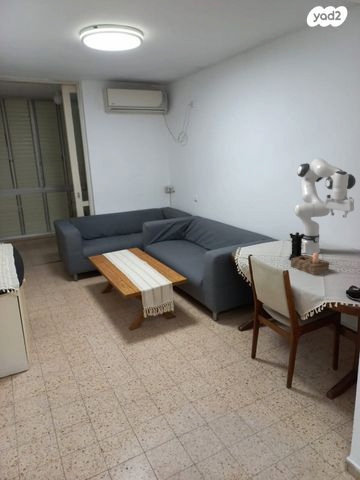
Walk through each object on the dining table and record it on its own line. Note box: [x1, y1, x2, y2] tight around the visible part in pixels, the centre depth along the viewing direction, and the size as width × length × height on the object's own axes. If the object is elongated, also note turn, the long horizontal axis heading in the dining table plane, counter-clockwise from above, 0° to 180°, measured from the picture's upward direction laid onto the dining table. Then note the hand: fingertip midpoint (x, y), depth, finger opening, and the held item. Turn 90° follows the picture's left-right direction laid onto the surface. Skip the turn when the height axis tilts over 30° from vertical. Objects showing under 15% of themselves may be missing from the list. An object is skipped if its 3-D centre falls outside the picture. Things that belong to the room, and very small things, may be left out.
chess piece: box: [287, 231, 304, 261], centre depth 242 cm, size 8×8×20 cm
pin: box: [312, 253, 320, 264], centre depth 220 cm, size 4×4×10 cm
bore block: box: [290, 254, 330, 276], centre depth 226 cm, size 20×14×6 cm
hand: (338, 216), depth 223 cm, fingers open, 8 cm apart
